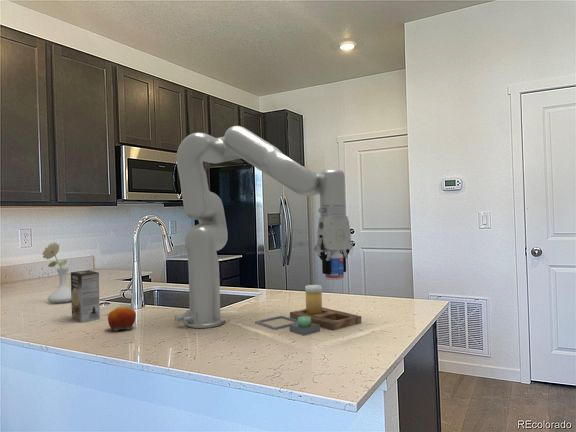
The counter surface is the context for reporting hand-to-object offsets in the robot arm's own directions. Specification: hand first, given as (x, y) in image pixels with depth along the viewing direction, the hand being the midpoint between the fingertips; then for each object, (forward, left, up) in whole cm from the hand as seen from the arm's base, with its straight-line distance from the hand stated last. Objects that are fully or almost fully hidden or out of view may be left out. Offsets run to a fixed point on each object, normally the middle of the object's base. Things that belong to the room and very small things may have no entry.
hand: (334, 272), depth 127 cm
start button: (-12, 0, -13) cm, 18 cm away
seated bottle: (0, +10, -15) cm, 18 cm away
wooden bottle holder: (0, +5, -16) cm, 17 cm away
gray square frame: (-12, +12, -16) cm, 24 cm away
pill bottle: (0, 0, -2) cm, 2 cm away
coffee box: (-53, +67, -17) cm, 87 cm away
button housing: (-12, 0, -16) cm, 20 cm away
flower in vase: (-53, +107, -17) cm, 121 cm away
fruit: (-48, +44, -17) cm, 67 cm away
